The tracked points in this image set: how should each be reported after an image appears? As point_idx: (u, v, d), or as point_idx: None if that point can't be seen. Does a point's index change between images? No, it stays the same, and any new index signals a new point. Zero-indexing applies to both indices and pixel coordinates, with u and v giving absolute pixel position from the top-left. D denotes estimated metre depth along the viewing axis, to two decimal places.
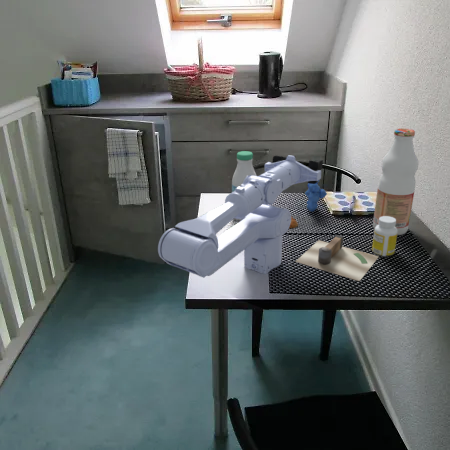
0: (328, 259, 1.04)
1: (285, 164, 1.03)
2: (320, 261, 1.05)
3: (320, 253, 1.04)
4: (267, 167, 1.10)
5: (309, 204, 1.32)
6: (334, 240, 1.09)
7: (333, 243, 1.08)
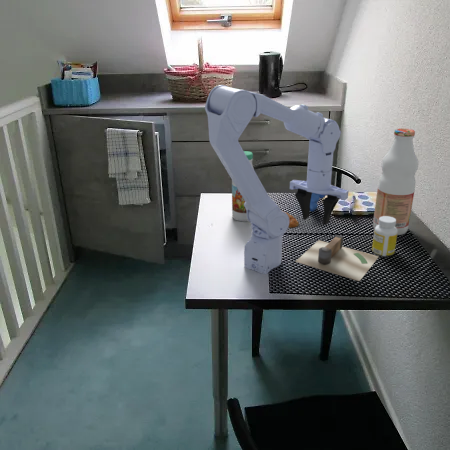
0: (328, 259, 1.04)
1: None
2: (320, 261, 1.05)
3: (320, 253, 1.04)
4: None
5: None
6: (334, 240, 1.09)
7: (333, 243, 1.08)
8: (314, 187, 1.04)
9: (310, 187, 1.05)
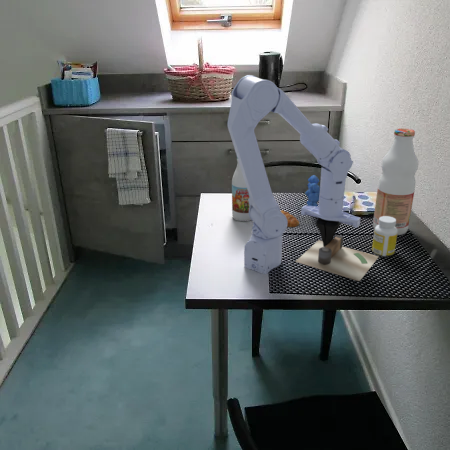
0: (328, 259, 1.04)
1: None
2: (320, 261, 1.05)
3: (320, 253, 1.04)
4: None
5: (309, 204, 1.32)
6: (334, 240, 1.09)
7: (333, 243, 1.08)
8: (326, 214, 1.05)
9: (322, 214, 1.06)
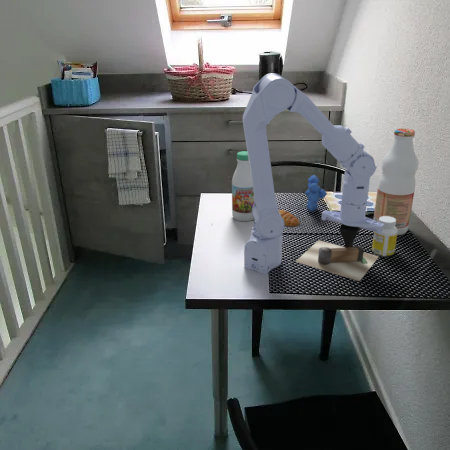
0: (323, 259, 1.05)
1: None
2: (318, 259, 1.06)
3: None
4: None
5: (309, 204, 1.32)
6: (349, 248, 1.05)
7: (343, 249, 1.05)
8: (349, 220, 1.02)
9: (344, 219, 1.03)
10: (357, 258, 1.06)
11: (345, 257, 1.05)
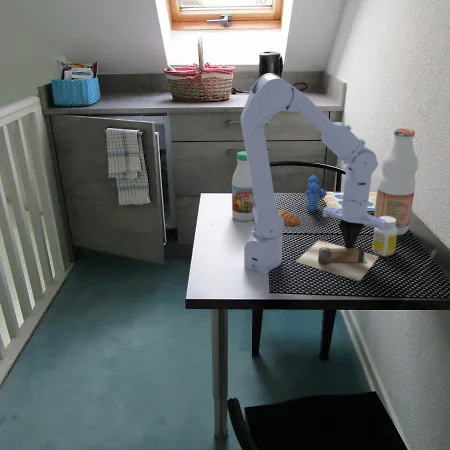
0: (322, 259, 1.05)
1: None
2: (318, 258, 1.06)
3: (319, 250, 1.06)
4: None
5: (309, 204, 1.32)
6: (350, 249, 1.05)
7: (343, 250, 1.05)
8: (350, 216, 1.01)
9: (346, 216, 1.02)
10: (358, 259, 1.05)
11: (345, 258, 1.05)
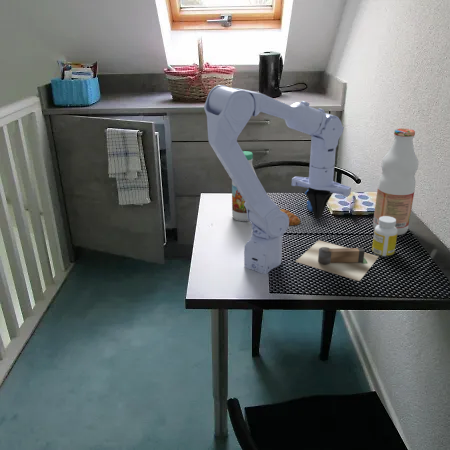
0: (322, 259, 1.05)
1: None
2: (318, 258, 1.06)
3: (319, 250, 1.06)
4: None
5: (309, 204, 1.32)
6: (350, 249, 1.05)
7: (343, 250, 1.05)
8: (316, 183, 1.03)
9: (312, 183, 1.04)
10: (358, 259, 1.05)
11: (345, 258, 1.05)
